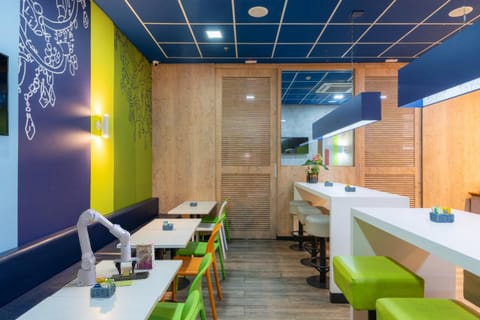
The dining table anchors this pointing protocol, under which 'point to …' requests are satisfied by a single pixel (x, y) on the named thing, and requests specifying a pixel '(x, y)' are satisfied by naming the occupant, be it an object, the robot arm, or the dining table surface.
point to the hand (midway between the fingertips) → (126, 273)
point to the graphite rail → (131, 276)
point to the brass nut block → (126, 272)
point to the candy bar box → (145, 255)
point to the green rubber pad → (124, 283)
